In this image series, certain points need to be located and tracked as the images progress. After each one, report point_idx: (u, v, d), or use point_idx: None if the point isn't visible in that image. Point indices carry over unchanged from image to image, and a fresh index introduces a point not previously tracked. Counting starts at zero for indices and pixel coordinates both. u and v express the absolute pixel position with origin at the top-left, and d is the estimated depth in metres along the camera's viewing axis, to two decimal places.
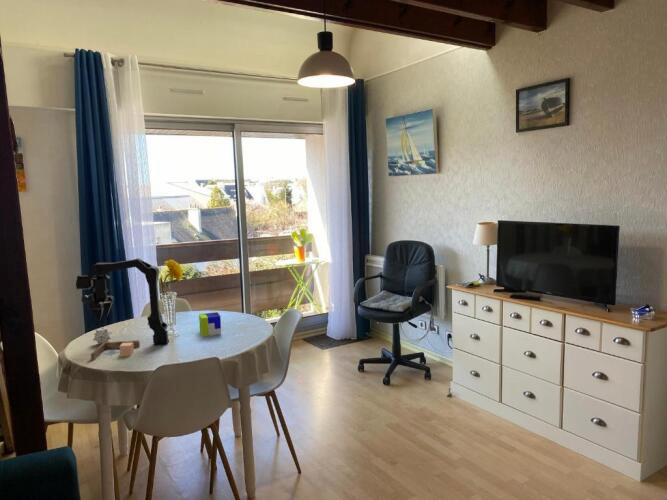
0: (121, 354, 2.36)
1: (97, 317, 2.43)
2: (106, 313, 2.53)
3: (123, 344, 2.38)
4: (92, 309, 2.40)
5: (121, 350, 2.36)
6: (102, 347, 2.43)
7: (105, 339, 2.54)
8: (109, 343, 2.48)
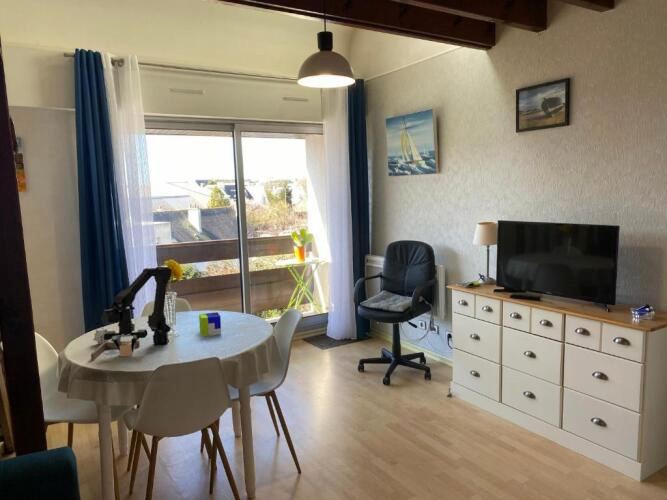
0: (121, 354, 2.36)
1: None
2: None
3: (123, 344, 2.38)
4: None
5: (121, 350, 2.35)
6: (102, 347, 2.43)
7: None
8: (109, 343, 2.48)
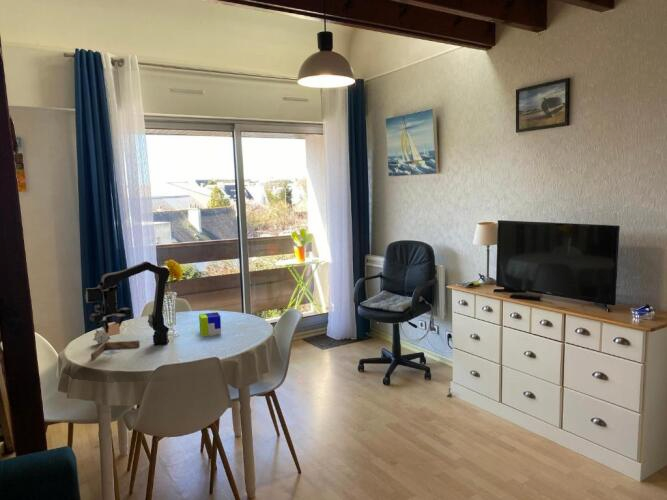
0: (111, 334, 2.37)
1: (104, 328, 2.37)
2: None
3: (109, 324, 2.38)
4: None
5: (111, 329, 2.37)
6: (102, 347, 2.43)
7: (105, 339, 2.54)
8: (109, 343, 2.48)
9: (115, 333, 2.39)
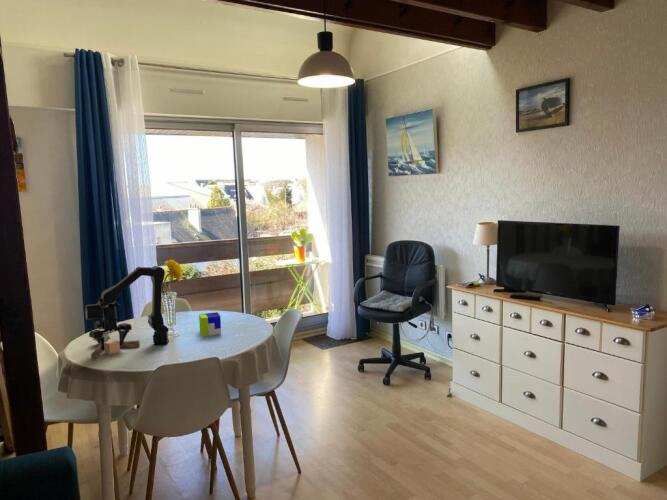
0: (111, 352, 2.39)
1: (100, 346, 2.37)
2: (120, 342, 2.45)
3: (109, 342, 2.40)
4: (93, 337, 2.35)
5: (111, 348, 2.39)
6: None
7: (105, 339, 2.54)
8: None
9: (115, 351, 2.40)
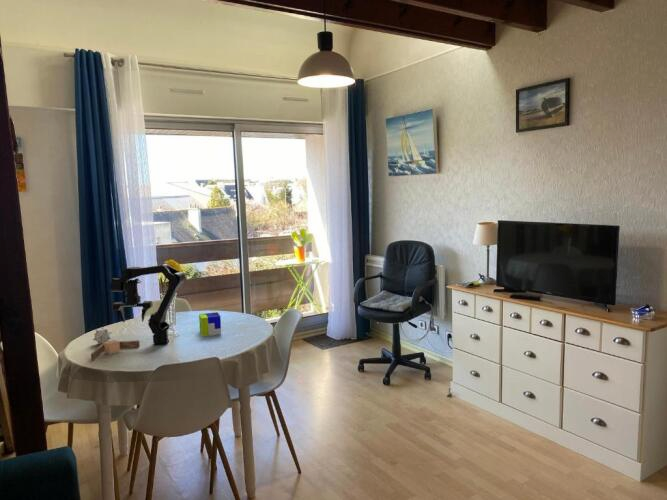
0: (111, 352, 2.39)
1: None
2: None
3: (109, 342, 2.40)
4: None
5: (111, 348, 2.39)
6: (102, 347, 2.43)
7: (105, 339, 2.54)
8: None
9: (115, 351, 2.40)
